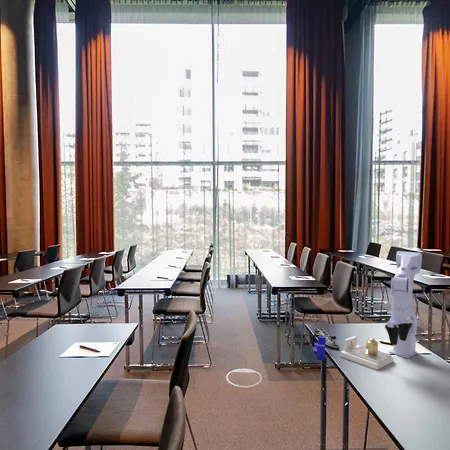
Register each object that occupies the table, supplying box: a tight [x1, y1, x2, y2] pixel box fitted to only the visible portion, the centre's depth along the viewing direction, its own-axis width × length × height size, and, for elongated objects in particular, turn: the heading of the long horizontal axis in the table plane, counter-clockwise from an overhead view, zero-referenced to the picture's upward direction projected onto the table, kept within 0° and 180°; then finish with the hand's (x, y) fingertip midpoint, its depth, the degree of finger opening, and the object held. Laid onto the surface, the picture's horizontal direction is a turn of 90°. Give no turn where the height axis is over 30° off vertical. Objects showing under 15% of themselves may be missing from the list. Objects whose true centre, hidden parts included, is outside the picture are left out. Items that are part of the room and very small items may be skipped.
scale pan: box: [349, 345, 392, 363], centre depth 152 cm, size 10×13×1 cm
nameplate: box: [313, 327, 340, 351], centre depth 176 cm, size 28×2×10 cm
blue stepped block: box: [313, 336, 326, 362], centre depth 157 cm, size 12×4×6 cm, turn 164°
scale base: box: [339, 335, 394, 370], centre depth 153 cm, size 13×16×6 cm
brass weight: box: [365, 337, 379, 356], centre depth 151 cm, size 4×4×6 cm
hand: (398, 342), depth 147 cm, fingers open, 7 cm apart
